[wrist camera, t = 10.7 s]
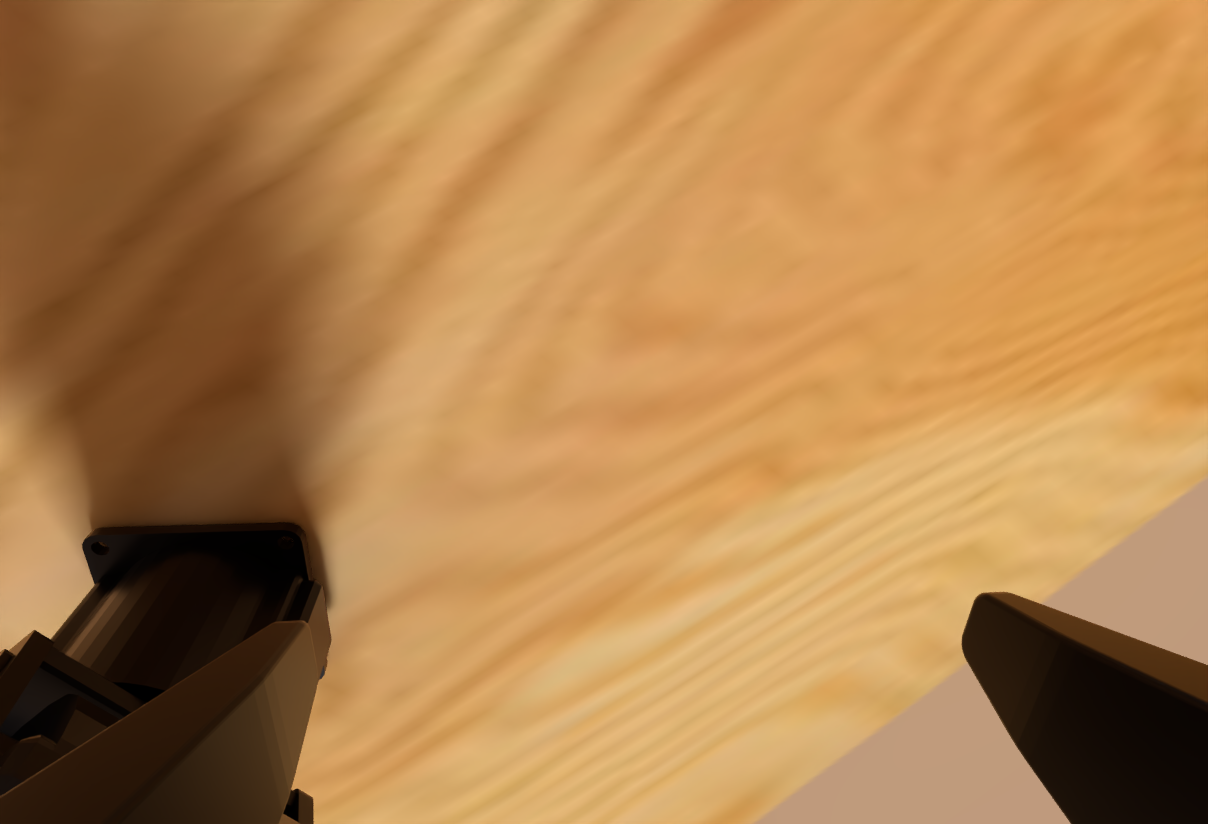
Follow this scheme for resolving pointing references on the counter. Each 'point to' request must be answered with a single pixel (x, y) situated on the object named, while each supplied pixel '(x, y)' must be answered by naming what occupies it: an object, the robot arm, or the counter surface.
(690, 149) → the counter surface
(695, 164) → the counter surface
